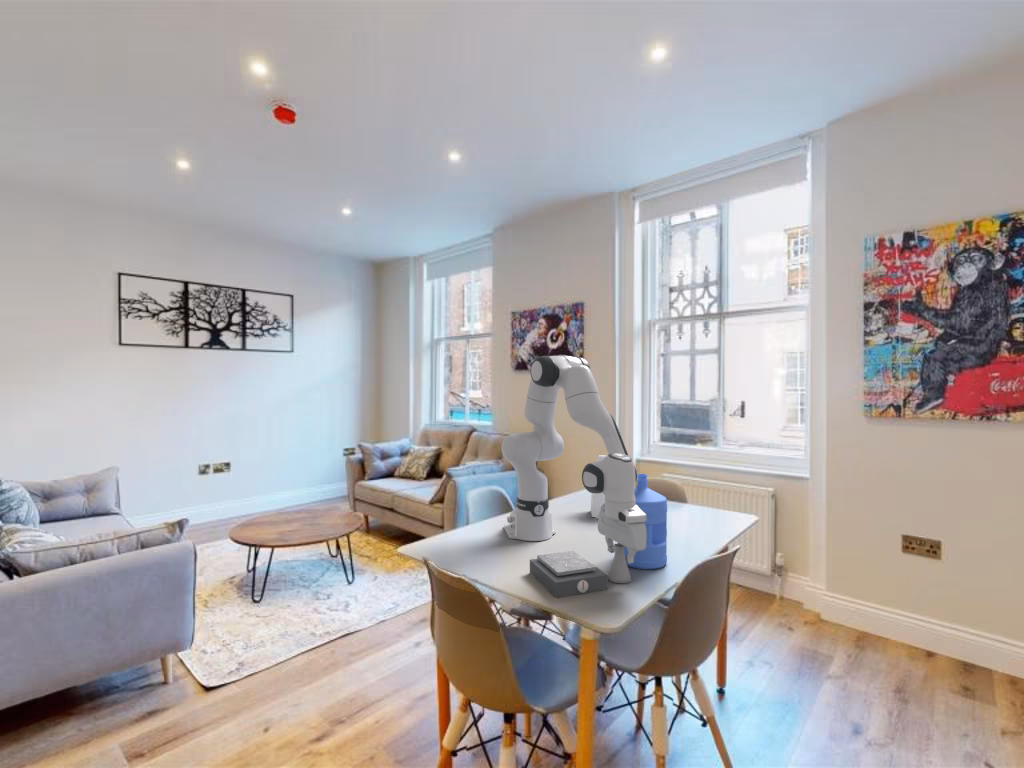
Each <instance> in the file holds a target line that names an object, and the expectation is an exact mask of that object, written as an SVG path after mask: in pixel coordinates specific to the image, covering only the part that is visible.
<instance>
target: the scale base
mask: <svg viewBox="0 0 1024 768" xmlns="http://www.w3.org/2000/svg"><path fill="white" fill-rule="evenodd" d="M578 555H579V554H578ZM579 556H581V555H579ZM581 557H582V556H581ZM582 558H584V557H582ZM591 564H592V565H594V564H593V563H591ZM594 566H595V567H596V571H589V572H582V573H575V574H569V575H562V576H557V575H556V574H555V573H553V572H552V571H551V570H550V569H549V568H548V567H546V566H545V565H544V564H543V563H542V562H540V561H539V560H538V559H537V558H532V559H529V574H530V575H531V574H532V575H533V576H534V577H535V580H537V581H538V583H540V585H541V586H543V587H544V588H545V589H546V590H547V591H548V592H549V593H550V594H551V595H552V596H553V597H554V598H562V597H568V596H573V595H580V594H587V593H592V592H598V591H605V590H609V589H608V588H609V587H608V585H609V583H608V582H609V579H608V573H606V572H604V571H603V570H601V569H600V568H599V567H597V566H596V565H594ZM532 575H531V576H532ZM533 576H532V577H533ZM534 577H533V578H534Z"/></svg>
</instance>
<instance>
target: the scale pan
mask: <svg viewBox="0 0 1024 768" xmlns="http://www.w3.org/2000/svg"><path fill="white" fill-rule="evenodd" d="M536 559H538V560H539V561H540V562H542V563H543V564H544V565H545V566H546V567H548V568H549V569H550V570H551V571H552V572H553V573H555V574H556V575H557V576H562V575H569V574H575V573H582V572H589V571H596V567H597V566H596V565H594V564H593V563H591V562H590V561H588V560H587V559H585V558H584V557H583V558H582V556H581V555H580V556H579V554H578V553H577V552H575V551H573V550H570V551H561V552H555V553H554V552H553V553H546V554H539V555H538V554H537V556H536ZM592 564H593V565H592ZM595 566H596V567H595Z"/></svg>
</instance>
